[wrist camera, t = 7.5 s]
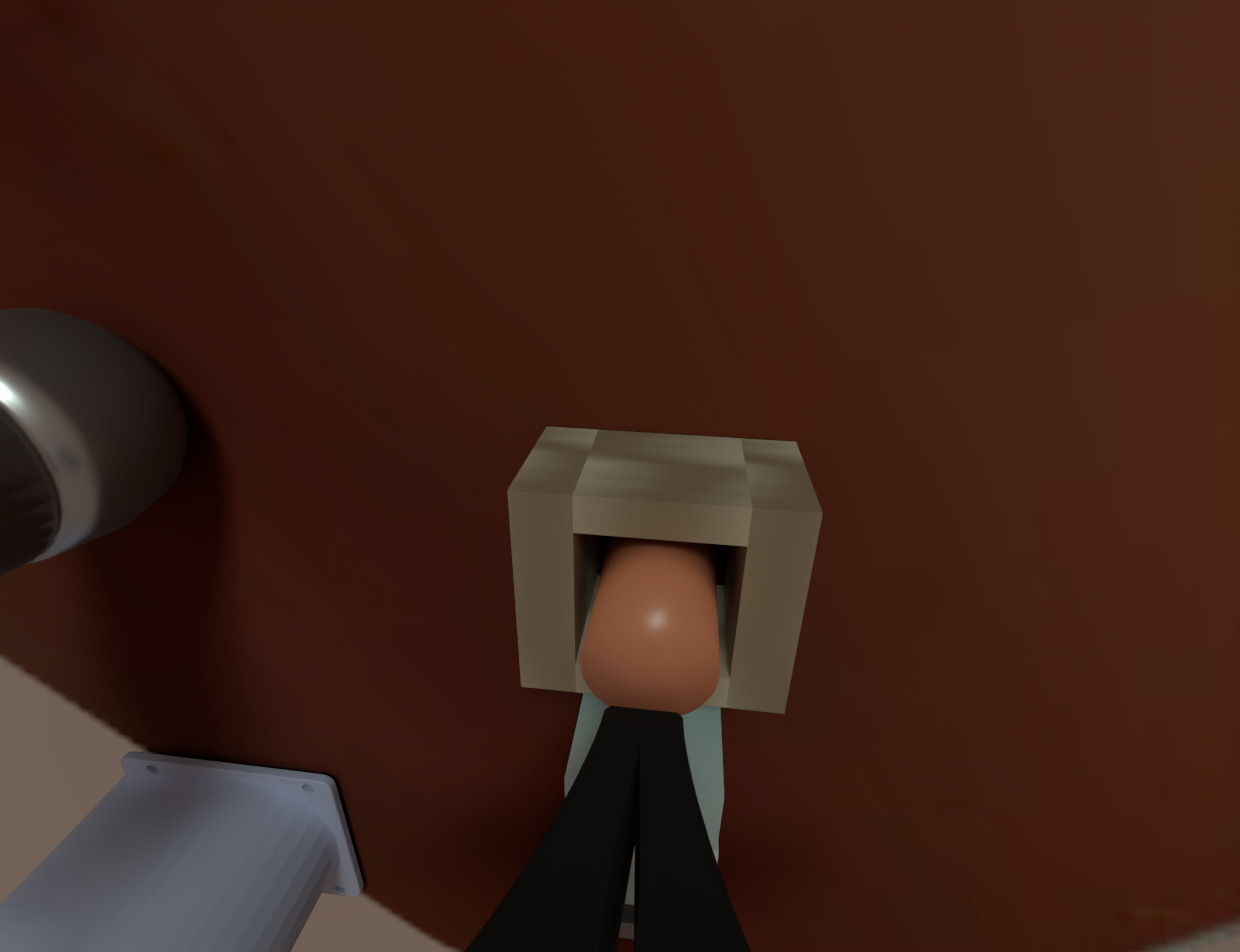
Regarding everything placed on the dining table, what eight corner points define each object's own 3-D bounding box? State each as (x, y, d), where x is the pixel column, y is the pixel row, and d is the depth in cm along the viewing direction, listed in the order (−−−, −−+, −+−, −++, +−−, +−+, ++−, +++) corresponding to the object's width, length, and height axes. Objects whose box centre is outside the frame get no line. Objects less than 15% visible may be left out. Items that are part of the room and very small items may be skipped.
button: (604, 602, 17) (580, 711, 14) (606, 511, 16) (579, 606, 12) (710, 611, 17) (713, 725, 13) (719, 519, 16) (726, 619, 12)
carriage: (588, 774, 21) (565, 899, 17) (587, 665, 19) (561, 782, 15) (707, 788, 21) (709, 918, 17) (720, 678, 18) (726, 801, 15)
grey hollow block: (553, 596, 20) (521, 686, 16) (546, 426, 17) (507, 490, 14) (768, 615, 19) (784, 713, 16) (796, 441, 17) (822, 512, 13)
